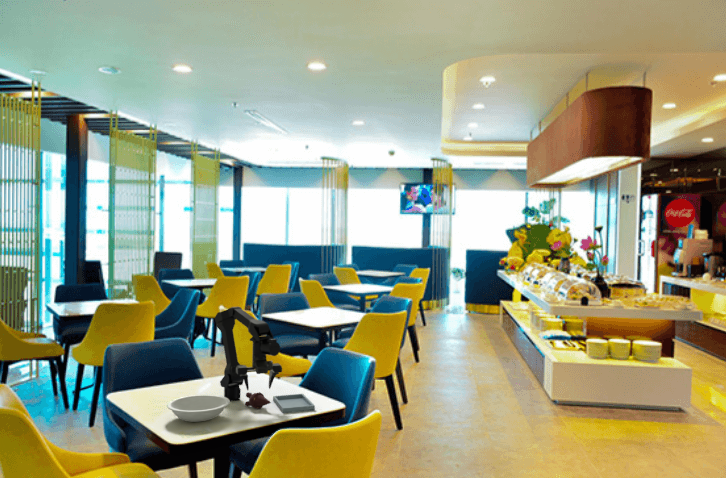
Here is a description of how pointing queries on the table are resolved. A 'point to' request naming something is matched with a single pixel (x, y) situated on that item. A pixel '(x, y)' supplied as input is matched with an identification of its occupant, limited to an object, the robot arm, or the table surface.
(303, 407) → the tray
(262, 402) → the icecream
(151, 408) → the table surface
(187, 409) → the soup bowl
